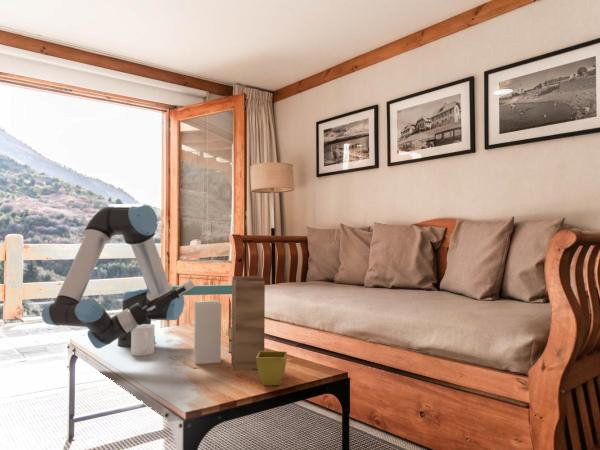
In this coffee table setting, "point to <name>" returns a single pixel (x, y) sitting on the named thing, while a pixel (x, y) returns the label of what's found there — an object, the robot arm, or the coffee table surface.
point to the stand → (247, 321)
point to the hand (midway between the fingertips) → (192, 282)
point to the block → (207, 290)
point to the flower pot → (271, 367)
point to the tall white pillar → (207, 332)
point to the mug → (142, 340)
